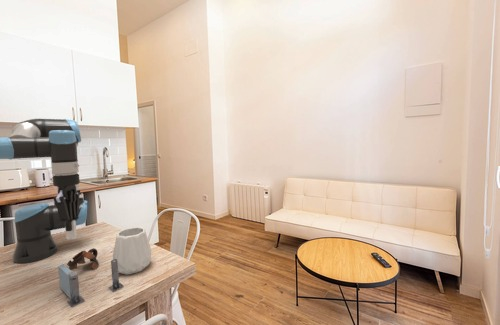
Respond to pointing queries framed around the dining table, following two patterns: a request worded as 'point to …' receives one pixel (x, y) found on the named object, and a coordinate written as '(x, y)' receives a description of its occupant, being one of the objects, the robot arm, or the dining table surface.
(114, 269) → the post
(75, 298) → the hinge post
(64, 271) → the gate
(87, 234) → the dining table surface
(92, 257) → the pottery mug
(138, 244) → the vase
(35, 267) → the dining table surface
